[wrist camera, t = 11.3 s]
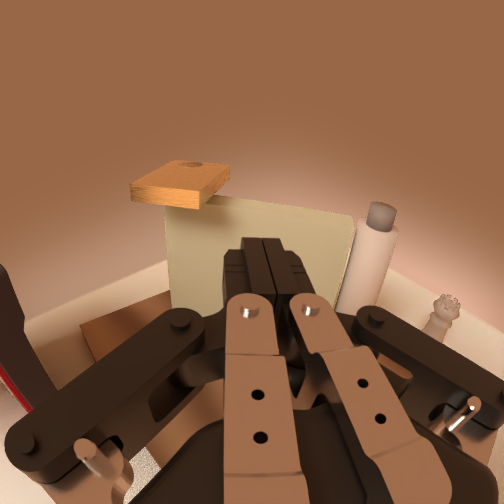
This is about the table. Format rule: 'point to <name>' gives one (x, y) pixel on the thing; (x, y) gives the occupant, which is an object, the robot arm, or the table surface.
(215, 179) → the plate
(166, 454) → the board
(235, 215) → the hinge
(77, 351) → the table surface
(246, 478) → the robot arm
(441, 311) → the rook chess piece
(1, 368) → the dark brown flat block
